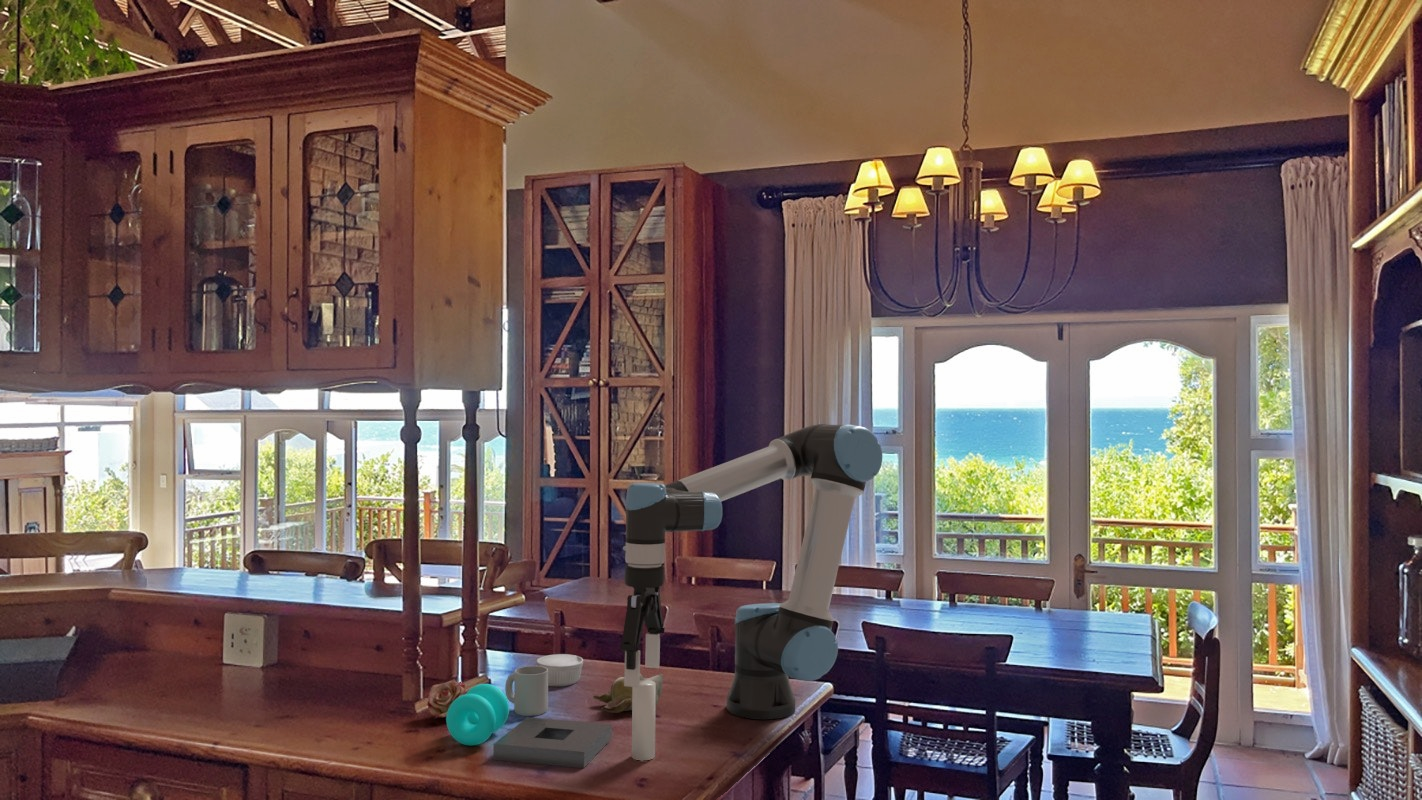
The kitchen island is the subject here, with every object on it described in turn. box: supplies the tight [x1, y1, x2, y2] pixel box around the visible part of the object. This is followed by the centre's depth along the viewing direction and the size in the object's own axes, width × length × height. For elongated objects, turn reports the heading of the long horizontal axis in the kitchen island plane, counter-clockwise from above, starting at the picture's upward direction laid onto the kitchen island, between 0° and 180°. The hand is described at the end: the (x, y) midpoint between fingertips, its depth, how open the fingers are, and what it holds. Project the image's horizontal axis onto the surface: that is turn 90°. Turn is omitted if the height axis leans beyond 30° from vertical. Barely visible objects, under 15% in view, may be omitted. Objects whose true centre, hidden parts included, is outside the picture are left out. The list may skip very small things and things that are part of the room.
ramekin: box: [536, 653, 584, 687], centre depth 234 cm, size 11×11×5 cm
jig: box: [492, 716, 613, 769], centre depth 188 cm, size 18×16×3 cm
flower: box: [426, 678, 467, 720], centre depth 206 cm, size 9×9×7 cm
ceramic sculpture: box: [593, 673, 664, 714], centre depth 213 cm, size 11×9×15 cm
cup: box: [504, 665, 549, 717], centre depth 211 cm, size 7×10×9 cm
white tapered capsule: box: [631, 680, 656, 762], centre depth 184 cm, size 4×4×14 cm
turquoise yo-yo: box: [445, 683, 510, 746], centre depth 193 cm, size 10×10×10 cm
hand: (642, 676), depth 184 cm, fingers open, 13 cm apart
